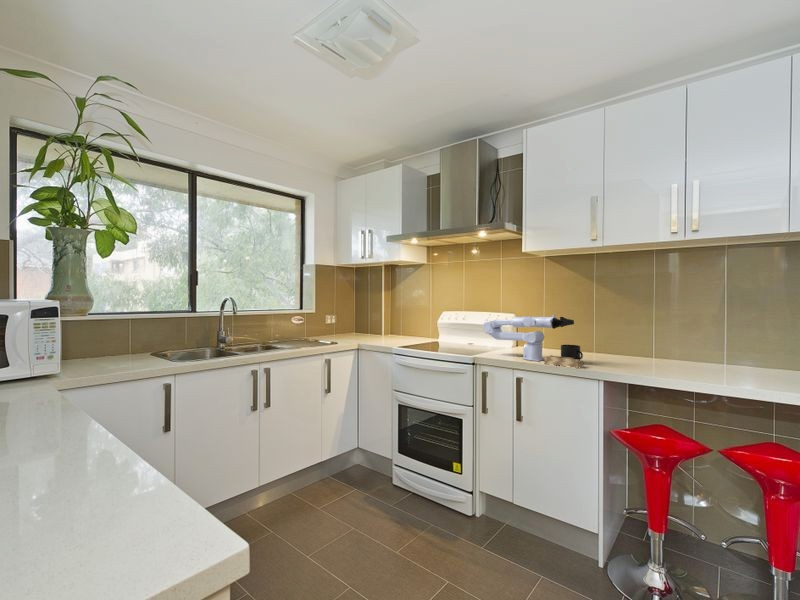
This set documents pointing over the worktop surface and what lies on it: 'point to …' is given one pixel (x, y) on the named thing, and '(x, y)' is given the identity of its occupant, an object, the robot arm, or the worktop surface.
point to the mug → (571, 351)
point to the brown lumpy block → (563, 361)
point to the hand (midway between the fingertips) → (570, 322)
